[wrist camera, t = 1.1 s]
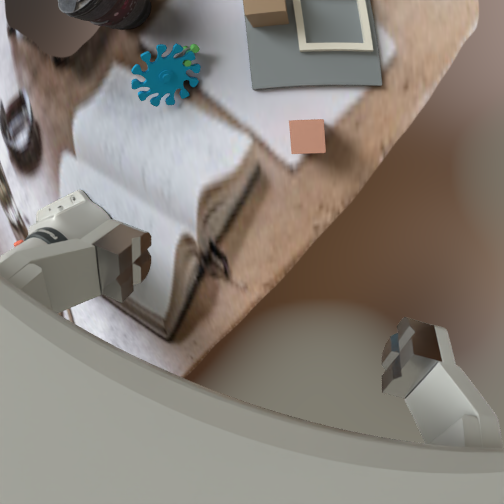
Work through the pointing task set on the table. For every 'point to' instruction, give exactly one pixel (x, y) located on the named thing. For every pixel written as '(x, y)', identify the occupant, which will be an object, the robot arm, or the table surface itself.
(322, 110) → the table surface
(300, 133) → the pillar block
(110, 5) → the camera lens
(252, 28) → the base plate
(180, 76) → the gear
